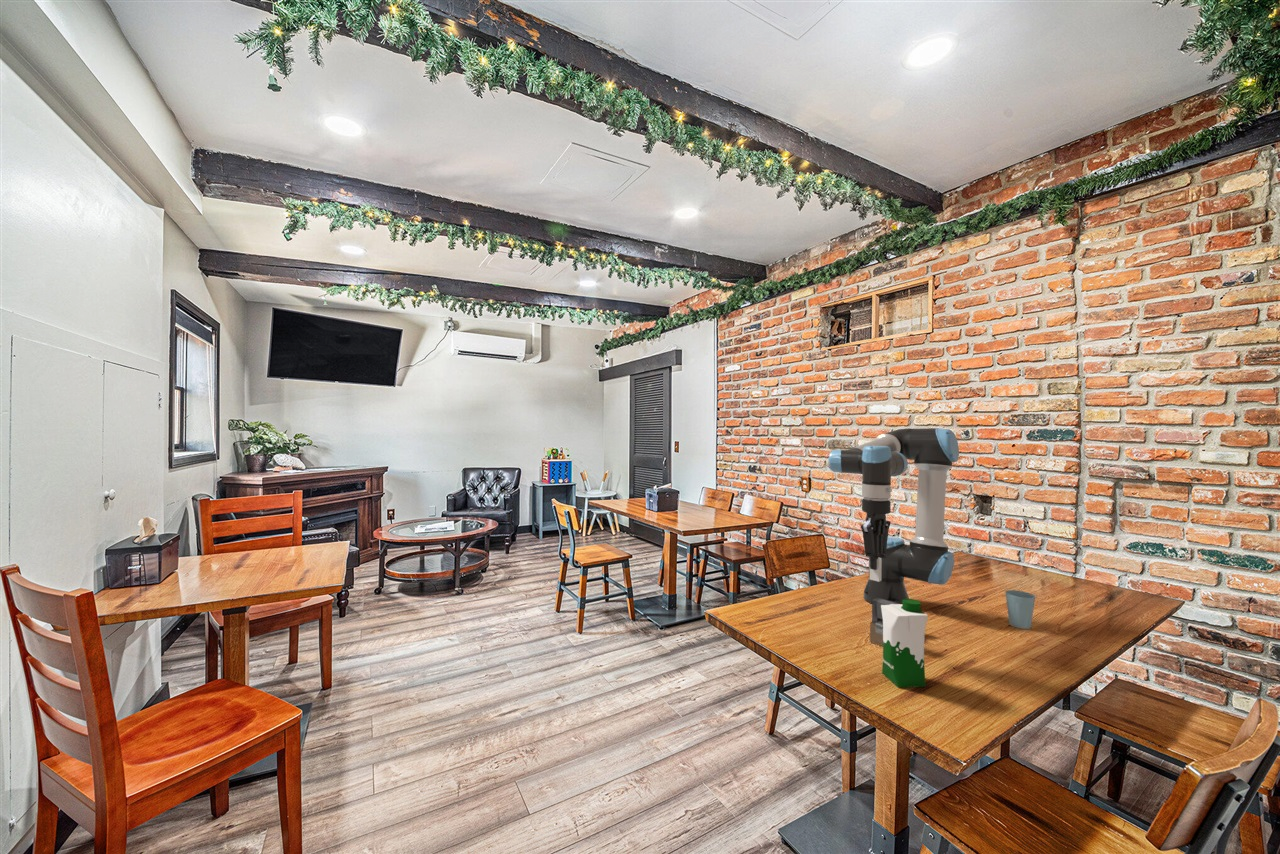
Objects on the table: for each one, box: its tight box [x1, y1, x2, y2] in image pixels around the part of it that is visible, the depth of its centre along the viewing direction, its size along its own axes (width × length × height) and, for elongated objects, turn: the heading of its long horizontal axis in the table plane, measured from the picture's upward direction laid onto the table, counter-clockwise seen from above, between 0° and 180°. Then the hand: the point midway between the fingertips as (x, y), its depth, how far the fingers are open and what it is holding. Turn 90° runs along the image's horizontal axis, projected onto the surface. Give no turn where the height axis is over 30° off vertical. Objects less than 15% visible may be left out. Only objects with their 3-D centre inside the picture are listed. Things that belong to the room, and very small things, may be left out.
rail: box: [869, 620, 883, 648], centre depth 147 cm, size 18×10×7 cm, turn 127°
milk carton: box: [881, 598, 929, 689], centre depth 122 cm, size 9×9×20 cm
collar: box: [871, 598, 898, 622], centre depth 144 cm, size 4×7×11 cm, turn 37°
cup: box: [1005, 589, 1036, 630], centre depth 157 cm, size 8×8×10 cm
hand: (875, 579), depth 139 cm, fingers closed
